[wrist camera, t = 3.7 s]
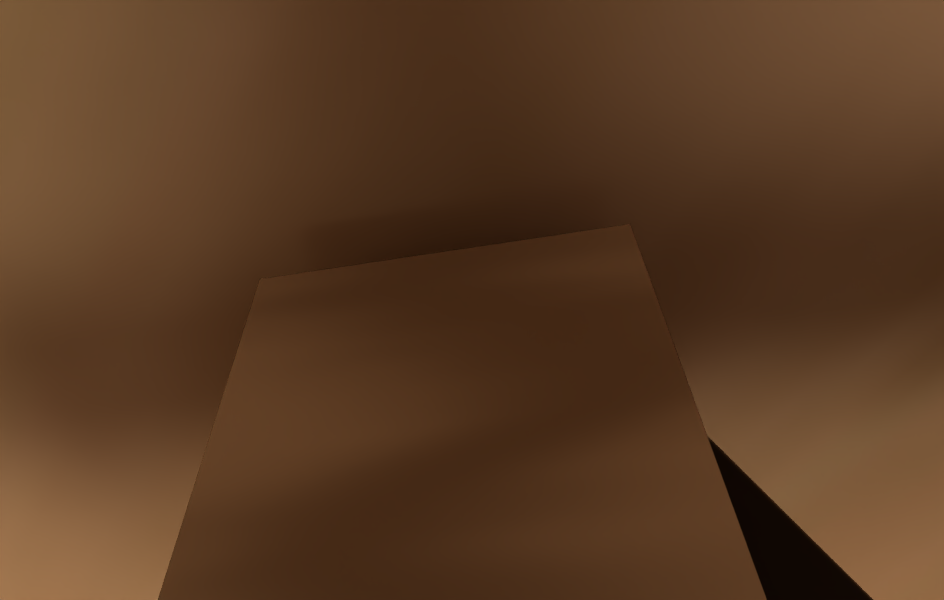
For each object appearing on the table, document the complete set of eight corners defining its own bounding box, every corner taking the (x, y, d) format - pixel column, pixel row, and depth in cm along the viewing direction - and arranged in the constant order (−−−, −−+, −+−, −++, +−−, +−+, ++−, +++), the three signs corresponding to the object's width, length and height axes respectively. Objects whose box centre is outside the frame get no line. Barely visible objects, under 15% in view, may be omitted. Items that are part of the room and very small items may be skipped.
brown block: (629, 224, 10) (823, 755, 5) (641, 477, 12) (773, 984, 7) (259, 279, 10) (83, 833, 5) (350, 514, 12) (290, 1026, 8)
